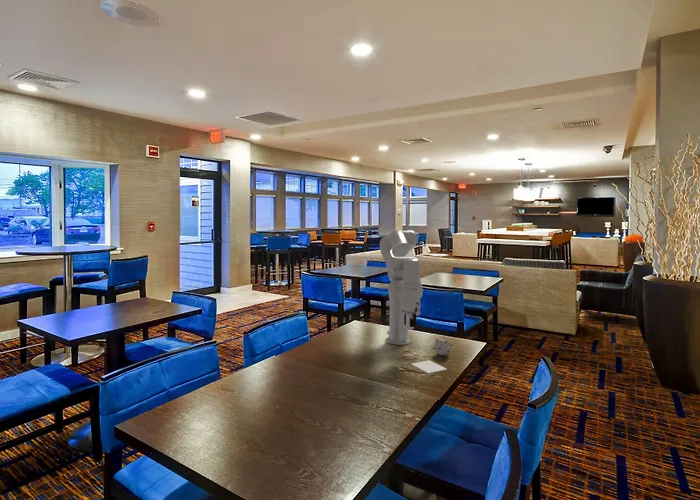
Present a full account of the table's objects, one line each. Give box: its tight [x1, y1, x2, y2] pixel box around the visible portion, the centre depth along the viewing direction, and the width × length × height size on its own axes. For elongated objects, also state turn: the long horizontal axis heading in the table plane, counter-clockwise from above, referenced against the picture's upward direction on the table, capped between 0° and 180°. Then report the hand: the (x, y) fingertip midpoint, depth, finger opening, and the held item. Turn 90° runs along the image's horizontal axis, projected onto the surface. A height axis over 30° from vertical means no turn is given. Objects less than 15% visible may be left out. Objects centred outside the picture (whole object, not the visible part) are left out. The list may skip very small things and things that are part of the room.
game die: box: [431, 337, 454, 358], centre depth 192 cm, size 9×8×10 cm
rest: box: [401, 353, 417, 361], centre depth 190 cm, size 6×6×1 cm
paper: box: [410, 359, 448, 374], centre depth 177 cm, size 12×10×1 cm
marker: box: [406, 311, 415, 330], centre depth 188 cm, size 4×4×9 cm
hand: (410, 325), depth 189 cm, fingers closed on marker, 3 cm apart
